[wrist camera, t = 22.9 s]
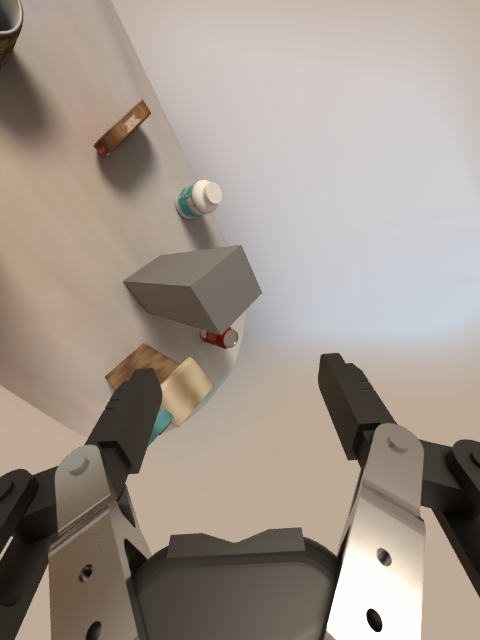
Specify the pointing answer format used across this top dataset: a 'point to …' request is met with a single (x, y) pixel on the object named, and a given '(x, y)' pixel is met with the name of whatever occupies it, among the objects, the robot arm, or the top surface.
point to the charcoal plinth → (197, 287)
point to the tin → (122, 129)
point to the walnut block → (143, 366)
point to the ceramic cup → (9, 26)
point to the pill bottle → (198, 199)
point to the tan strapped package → (181, 395)
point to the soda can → (221, 338)
